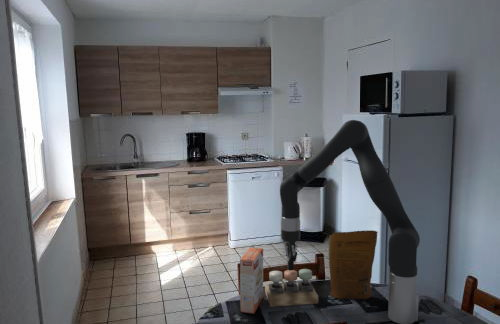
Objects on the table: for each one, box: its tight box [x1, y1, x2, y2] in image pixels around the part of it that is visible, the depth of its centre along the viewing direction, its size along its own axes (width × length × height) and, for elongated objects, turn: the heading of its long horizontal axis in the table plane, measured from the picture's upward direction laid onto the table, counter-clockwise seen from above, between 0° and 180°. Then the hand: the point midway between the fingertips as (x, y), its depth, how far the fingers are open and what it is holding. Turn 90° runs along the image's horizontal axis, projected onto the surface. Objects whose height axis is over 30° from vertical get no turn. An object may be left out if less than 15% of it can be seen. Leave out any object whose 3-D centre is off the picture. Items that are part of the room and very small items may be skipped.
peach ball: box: [283, 269, 298, 285], centre depth 163 cm, size 5×5×5 cm
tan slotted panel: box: [264, 280, 319, 307], centre depth 163 cm, size 19×13×5 cm
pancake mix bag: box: [328, 230, 378, 300], centre depth 161 cm, size 7×19×28 cm, turn 86°
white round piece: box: [268, 270, 284, 286], centre depth 162 cm, size 5×5×5 cm
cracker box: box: [239, 247, 264, 315], centre depth 157 cm, size 14×6×21 cm, turn 164°
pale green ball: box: [298, 268, 313, 284], centre depth 163 cm, size 5×5×5 cm
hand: (290, 269), depth 162 cm, fingers closed
